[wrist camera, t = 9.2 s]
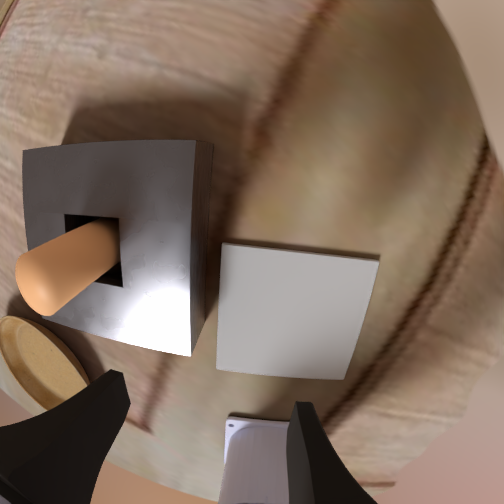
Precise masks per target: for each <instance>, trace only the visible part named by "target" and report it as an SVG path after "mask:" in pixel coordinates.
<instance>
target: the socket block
mask: <svg viewBox="0 0 504 504" xmlns="http://www.w3.org/2000/svg"><path fill="white" fill-rule="evenodd" d="M213 147H214V144H212V143H207V142H202V141H197V140H125V141H105V142H90V143H78V144H68V145H59V146H50V147H42V148H35V149H29V150H23V163H22V178H23V205H24V218H25V229H26V237H27V245H28V251H30V250H32V249H34V248H36V247H38V246H40V245H42V244H44V243H46V242H48V241H50V240H52V239H55V238H57V237H59V236H61V235H63V234H65V233H67V232H70V231H72V230H74V229H76V228H78V227H81V226H83V225H85V224H87V223H90V222H92V221H94V220H97V219H99V218H100V216H101V217H114V218H119V233H120V253H121V261H120V262H118V263H117V264H116V265H114V266H113V267H112V268H110V269H109V270H108V271H107V272H105V273H104V274H103V275H101V276H100V277H99V278H98V279H96V280H95V281H94V282H92V283H91V284H90V285H89V286H87V287H86V288H85V289H84V290H82V291H81V292H80V293H79V294H77V295H76V296H75V297H74V298H72V299H71V300H70V301H69V302H68V303H66V304H65V305H64V306H63V307H62V308H60V309H59V310H58V311H57V312H56V313H54V314H53V315H51V316H44V315H42V318H44V319H46V320H49V321H52V322H55V323H58V324H61V325H64V326H68V327H71V328H74V329H77V330H80V331H84V332H87V333H91V334H94V335H98V336H101V337H105V338H109V339H113V340H117V341H120V342H124V343H129V344H133V345H137V346H141V347H146V348H150V349H155V350H160V351H165V352H170V353H175V354H180V355H185V356H191V355H192V352H193V350H194V348H195V345H196V343H197V340H198V338H199V335H200V333H201V330H202V328H203V326H204V323H205V294H206V262H207V239H208V219H209V202H210V186H211V172H212V159H213Z"/></svg>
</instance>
